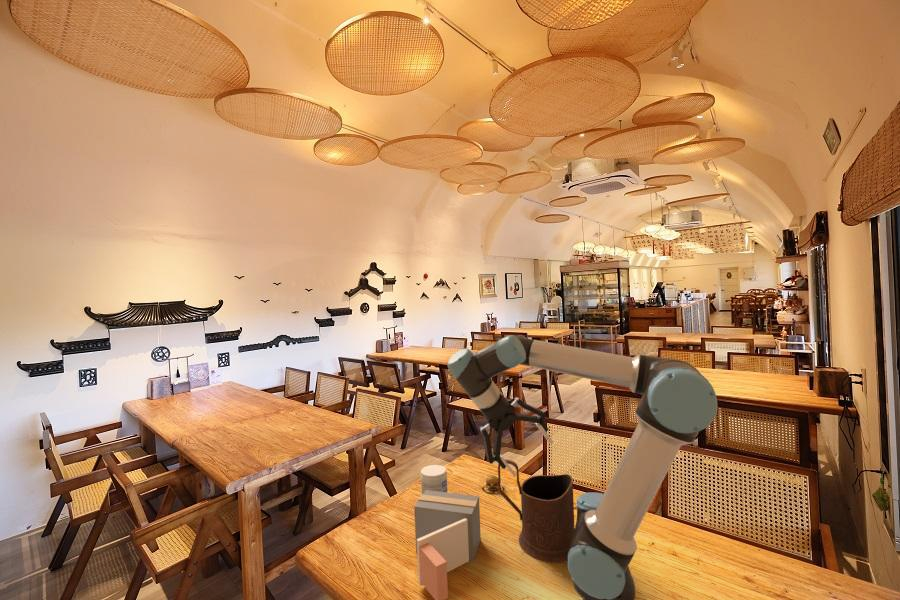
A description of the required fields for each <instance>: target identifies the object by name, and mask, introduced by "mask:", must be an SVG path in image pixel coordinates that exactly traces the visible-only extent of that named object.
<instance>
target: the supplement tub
mask: <svg viewBox="0 0 900 600" xmlns="http://www.w3.org/2000/svg"><path fill="white" fill-rule="evenodd" d="M447 476H448V473H447V469H446V467H445V466H443V465H440V464H430V465H427V466H424V467H423V468H421V470H420V488H421V494H422V495H423V493H424V492H425V490H430V491H439V492H447V493H449V492H448V477H447Z"/></svg>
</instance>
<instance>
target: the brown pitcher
mask: <svg viewBox="0 0 900 600" xmlns="http://www.w3.org/2000/svg"><path fill="white" fill-rule="evenodd" d="M504 459H505V458H504ZM505 461H506V462H507V463H508V465H511V466H513V467H514V468H515V470H516V484H517V487H518V490H519V495H520V503H521V504H520V505H521V509H520V508H519V507H518V506H517V504H516V503H514V501H513V500H512V499H511V498H510V497H509V496H508V495H507V494H506V492H504V490H503V491H502V487H501V484H502V483H501V466H500V465H499V463H498V466H497V474H498V475H497V478H498V482H499V488H498V492H499V493H500V495H501V496H502V497H503V499H505V500H506V501H507V503H508V504H510V506H511V507H512V508H513V509H514V510H515V512H516V513H517V514H518V515H519V520H520V521H521V524H522V525H521V527H522V528H521V531H520V534H519V536H518V544H519V547H520V548H521V550H522V551H523V552H524V553H525V554H526V555H527V556H529V557H530V558H532V559H534V560H536V561H539V562H542V563H548V564H561V563H562V564H563V563H568V552H569V550H570V546H571V542H572V538H573V533H574V529H575V507H574V505H575V504H574V480H573V479H574V478H573V477H572V475H570V474H568V473H567V474H552V475H551V474H549V475H548V474H545V475H543V474H540V475H539V474H538V475H532V476H529V477H527V478H526V479H525V480H524V481H523V482H522V483H521V482H520V476H519V475H520V473H519V471H520V470H519V466H518V464H517V463H516V462H515V461H513V460H511V459H505Z"/></svg>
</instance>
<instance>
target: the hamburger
mask: <svg viewBox="0 0 900 600" xmlns="http://www.w3.org/2000/svg"><path fill="white" fill-rule="evenodd" d="M485 483H486V486H485V487H486V489H487V488H488V489H490V490H495V491H497V490H499V482H498V476H496V475H494V474H490V475H488V476H487V477H486V480H485ZM488 489H487V490H488ZM496 489H497V490H496ZM490 490H489V491H490ZM502 491H503V492H504V490H502ZM498 492H499V491H498ZM498 492H496V494H499V493H498Z"/></svg>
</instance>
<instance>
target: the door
mask: <svg viewBox="0 0 900 600" xmlns="http://www.w3.org/2000/svg"><path fill="white" fill-rule="evenodd" d="M416 554H417V576H418V579H417V580H418V586H420V587H422V586H424V588H425V589H426V591H428V594H429V595H430V596H431V597H432V598H433V600H446V599H448V598H449V587H448V573H449V572H451V571H452V570H455V569H456V568H458V567H460V566H462V565H464V564H466V563H468V562H470V561H469V546H468V520H467V519H466V518H464V519H462V520H460V521H457V522H455V523H453V524H451V525H448V526H446V527H444V528H441V529H439V530H437V531H435V532H432V533H430V534H428V535H425V536H423V537H421V538H419V539H417V552H416Z"/></svg>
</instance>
